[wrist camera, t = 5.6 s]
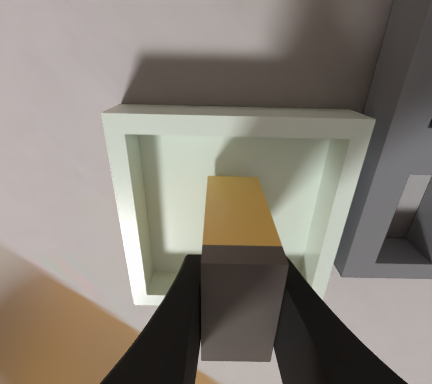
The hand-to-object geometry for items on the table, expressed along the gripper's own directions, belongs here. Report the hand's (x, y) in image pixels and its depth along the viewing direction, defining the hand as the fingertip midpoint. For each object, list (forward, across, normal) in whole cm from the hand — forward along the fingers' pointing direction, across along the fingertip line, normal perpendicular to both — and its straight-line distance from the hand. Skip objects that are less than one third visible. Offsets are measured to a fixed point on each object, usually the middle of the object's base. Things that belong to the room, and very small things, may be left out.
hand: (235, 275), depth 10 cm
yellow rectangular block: (+4, 0, 0) cm, 4 cm away
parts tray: (+5, 0, 0) cm, 5 cm away
